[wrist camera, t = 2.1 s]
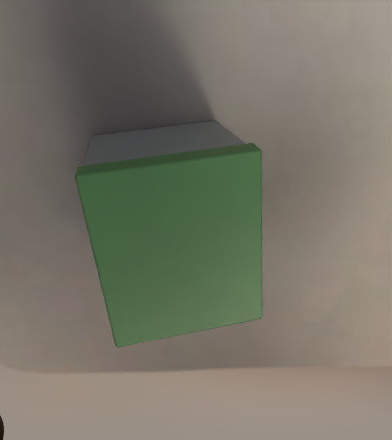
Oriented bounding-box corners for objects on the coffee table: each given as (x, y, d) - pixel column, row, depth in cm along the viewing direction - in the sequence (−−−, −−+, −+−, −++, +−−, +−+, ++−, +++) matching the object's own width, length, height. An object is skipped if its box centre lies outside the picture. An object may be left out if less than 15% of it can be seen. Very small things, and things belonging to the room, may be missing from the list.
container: (226, 249, 18) (262, 318, 13) (115, 268, 17) (115, 348, 13) (219, 117, 15) (262, 149, 11) (87, 133, 14) (74, 174, 10)
